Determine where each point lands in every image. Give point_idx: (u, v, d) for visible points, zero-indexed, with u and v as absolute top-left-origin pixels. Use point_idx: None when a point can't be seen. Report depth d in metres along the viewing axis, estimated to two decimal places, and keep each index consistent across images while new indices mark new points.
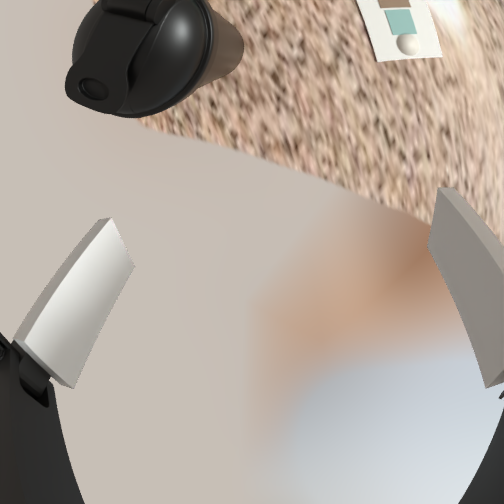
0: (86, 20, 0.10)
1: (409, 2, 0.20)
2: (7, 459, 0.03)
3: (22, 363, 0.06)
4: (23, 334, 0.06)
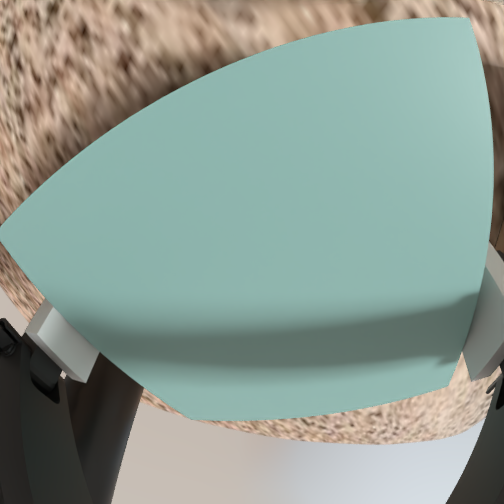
0: None
1: None
2: (14, 457, 0.03)
3: (33, 358, 0.06)
4: (36, 327, 0.06)
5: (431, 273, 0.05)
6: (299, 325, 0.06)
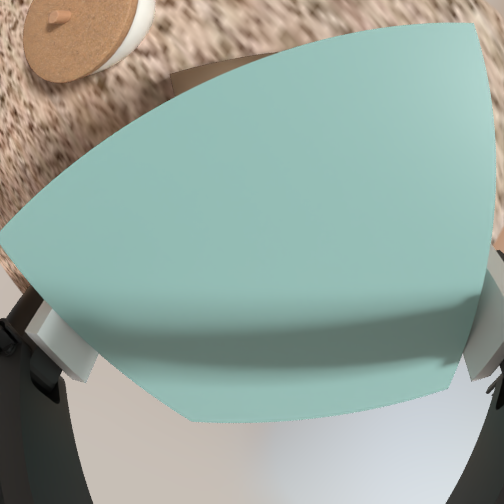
0: None
1: None
2: (15, 457, 0.03)
3: (33, 358, 0.06)
4: (36, 327, 0.06)
5: (432, 279, 0.05)
6: (300, 330, 0.06)
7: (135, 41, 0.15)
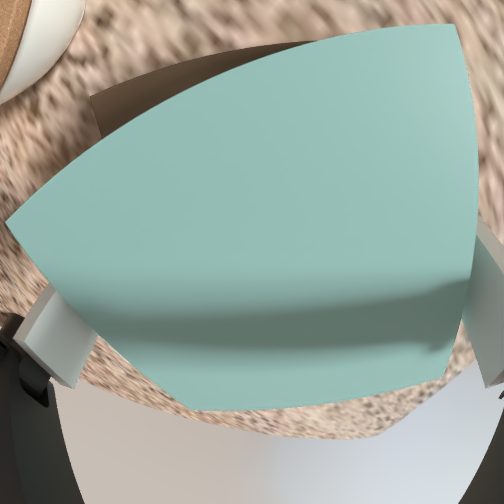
0: None
1: None
2: (6, 458, 0.03)
3: (22, 363, 0.06)
4: (23, 334, 0.06)
5: (421, 260, 0.05)
6: (298, 309, 0.06)
7: (46, 48, 0.08)
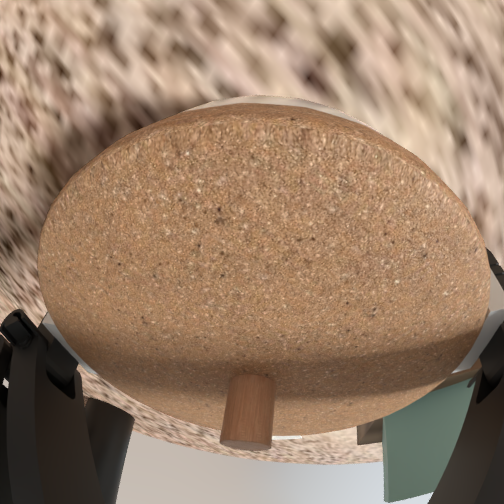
0: None
1: None
2: (26, 455, 0.03)
3: (50, 351, 0.07)
4: None
5: None
6: None
7: None
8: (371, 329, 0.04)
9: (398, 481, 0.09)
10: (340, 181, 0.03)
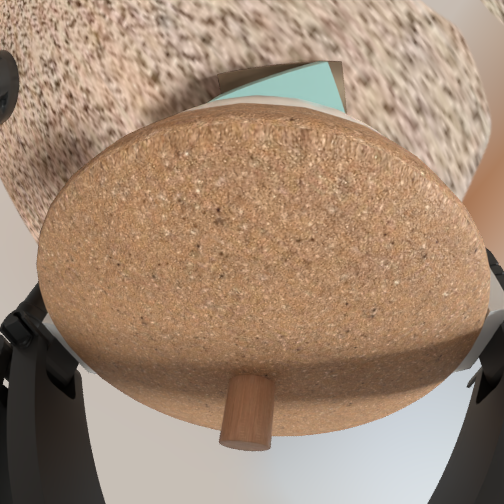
0: None
1: None
2: (26, 455, 0.03)
3: (50, 351, 0.07)
4: None
5: None
6: None
7: None
8: (371, 329, 0.04)
9: (214, 98, 0.23)
10: (340, 181, 0.03)
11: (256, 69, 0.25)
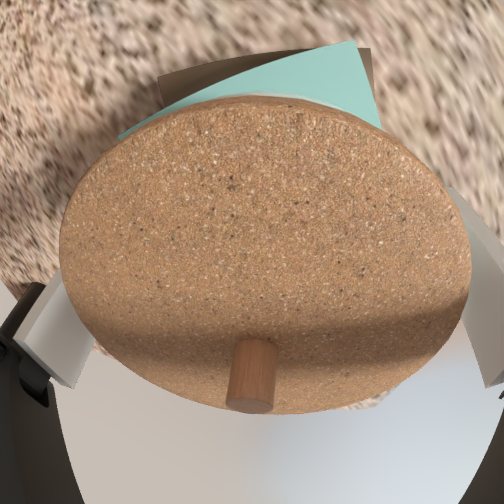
0: None
1: None
2: (6, 459, 0.03)
3: (22, 363, 0.06)
4: (23, 334, 0.06)
5: None
6: None
7: None
8: (361, 289, 0.05)
9: None
10: (328, 154, 0.04)
11: (220, 63, 0.14)
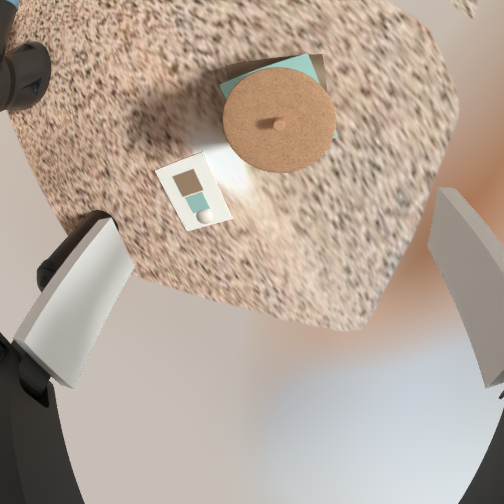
0: (38, 281, 0.40)
1: (202, 185, 0.50)
2: (6, 458, 0.03)
3: (22, 363, 0.06)
4: (23, 334, 0.06)
5: None
6: None
7: None
8: (301, 100, 0.23)
9: None
10: (291, 74, 0.22)
11: (256, 61, 0.32)
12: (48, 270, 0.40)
